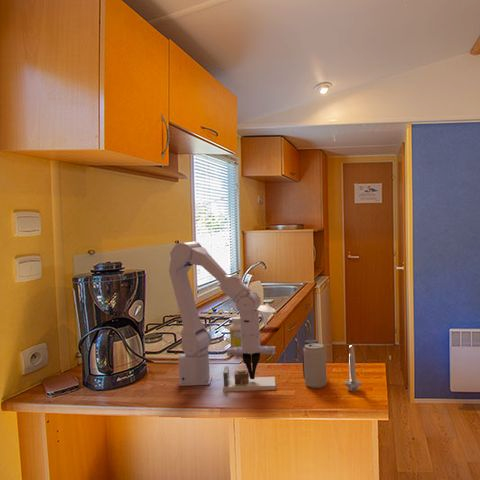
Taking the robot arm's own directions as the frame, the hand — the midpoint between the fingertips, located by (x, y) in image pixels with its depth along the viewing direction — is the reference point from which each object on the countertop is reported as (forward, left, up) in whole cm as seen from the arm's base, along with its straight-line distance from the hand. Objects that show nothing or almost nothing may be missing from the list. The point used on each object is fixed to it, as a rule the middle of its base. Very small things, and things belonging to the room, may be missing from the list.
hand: (252, 378), depth 140 cm
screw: (+29, -6, -2) cm, 30 cm away
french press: (-2, +58, -2) cm, 58 cm away
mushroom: (+5, +78, -2) cm, 78 cm away
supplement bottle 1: (-6, +41, -2) cm, 41 cm away
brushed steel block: (-8, 0, -1) cm, 8 cm away
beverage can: (+19, -1, -2) cm, 19 cm away
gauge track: (-1, 0, -2) cm, 3 cm away
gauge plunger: (-3, -1, -1) cm, 3 cm away
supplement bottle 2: (+19, +7, -2) cm, 20 cm away
